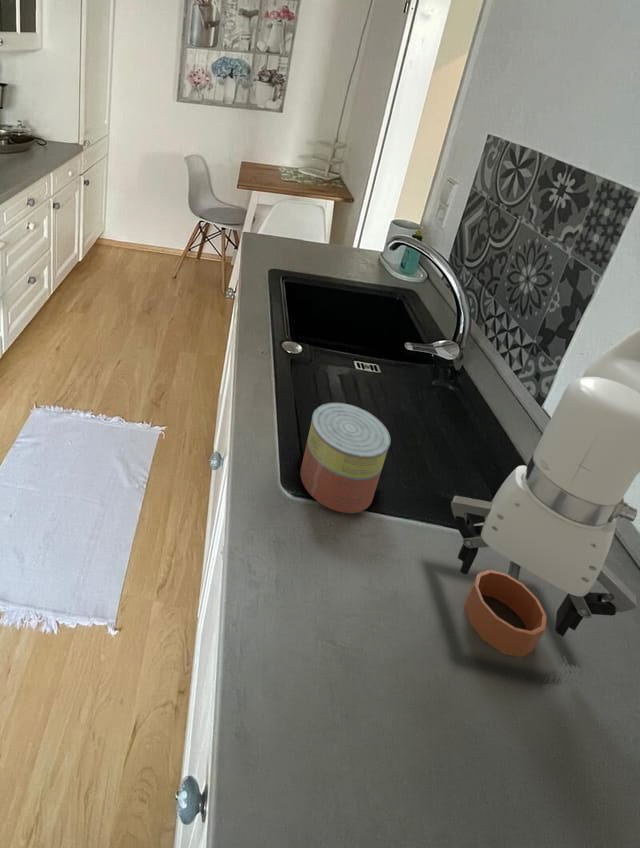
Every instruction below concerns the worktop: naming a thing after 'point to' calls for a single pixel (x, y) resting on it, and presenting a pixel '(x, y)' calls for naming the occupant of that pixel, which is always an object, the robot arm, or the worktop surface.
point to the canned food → (344, 457)
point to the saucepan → (517, 600)
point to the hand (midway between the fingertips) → (510, 593)
